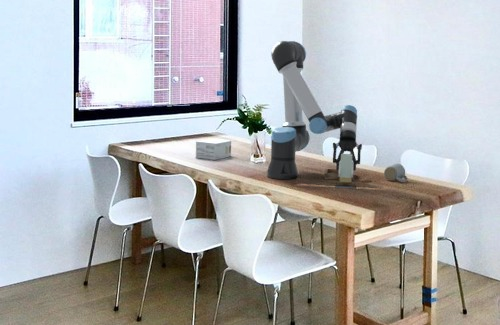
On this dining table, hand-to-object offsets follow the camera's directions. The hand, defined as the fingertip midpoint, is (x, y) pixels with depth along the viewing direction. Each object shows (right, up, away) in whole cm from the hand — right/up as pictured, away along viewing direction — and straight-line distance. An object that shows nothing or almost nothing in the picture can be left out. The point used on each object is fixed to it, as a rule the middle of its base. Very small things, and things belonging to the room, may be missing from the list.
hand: (345, 175), depth 305 cm
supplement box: (-63, +8, +78) cm, 100 cm away
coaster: (0, -5, +5) cm, 7 cm away
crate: (0, -2, +21) cm, 21 cm away
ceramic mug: (+27, -3, +21) cm, 35 cm away
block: (0, -3, +4) cm, 5 cm away
